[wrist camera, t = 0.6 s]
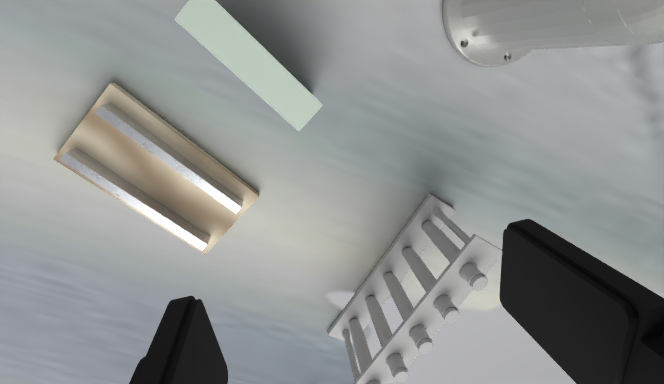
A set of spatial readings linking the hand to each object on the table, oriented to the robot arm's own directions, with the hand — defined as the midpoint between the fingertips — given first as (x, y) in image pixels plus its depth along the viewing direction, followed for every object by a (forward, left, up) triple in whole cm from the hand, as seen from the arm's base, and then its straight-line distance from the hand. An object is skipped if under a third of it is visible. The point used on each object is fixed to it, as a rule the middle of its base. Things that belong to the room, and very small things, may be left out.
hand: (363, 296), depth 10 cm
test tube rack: (+7, +23, -29) cm, 38 cm away
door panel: (-2, -7, -29) cm, 30 cm away
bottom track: (+14, -7, -29) cm, 33 cm away
